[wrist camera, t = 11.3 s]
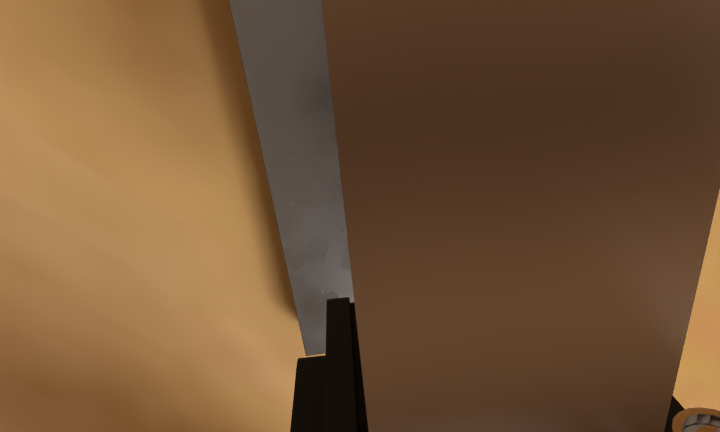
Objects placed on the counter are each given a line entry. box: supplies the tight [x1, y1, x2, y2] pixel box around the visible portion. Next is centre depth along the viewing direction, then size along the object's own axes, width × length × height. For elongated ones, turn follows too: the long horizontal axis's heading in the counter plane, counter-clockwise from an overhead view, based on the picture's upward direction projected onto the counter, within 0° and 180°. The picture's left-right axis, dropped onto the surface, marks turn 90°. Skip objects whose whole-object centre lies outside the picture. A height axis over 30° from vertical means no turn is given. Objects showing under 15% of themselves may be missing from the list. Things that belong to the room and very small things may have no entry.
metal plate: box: [229, 0, 354, 356], centre depth 25 cm, size 22×10×2 cm, turn 7°
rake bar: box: [321, 0, 720, 432], centre depth 10 cm, size 22×4×6 cm, turn 5°
